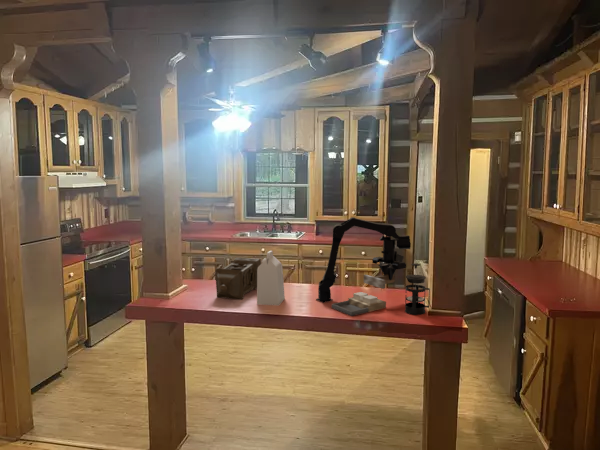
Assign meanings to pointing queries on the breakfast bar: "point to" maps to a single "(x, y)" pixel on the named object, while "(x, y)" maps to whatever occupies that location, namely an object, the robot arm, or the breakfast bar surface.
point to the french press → (416, 294)
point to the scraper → (378, 280)
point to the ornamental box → (237, 278)
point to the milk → (270, 281)
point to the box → (348, 308)
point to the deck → (371, 307)
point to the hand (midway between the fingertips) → (388, 279)
